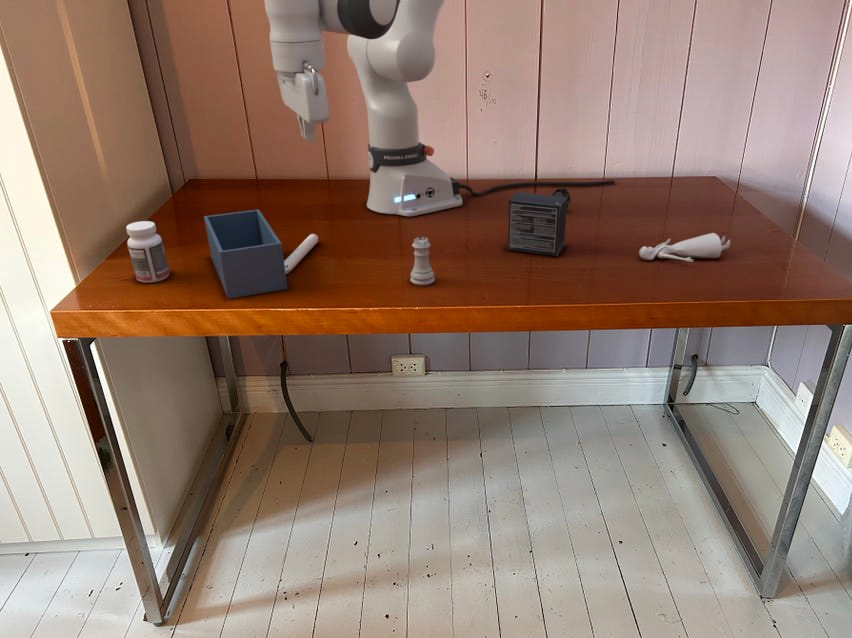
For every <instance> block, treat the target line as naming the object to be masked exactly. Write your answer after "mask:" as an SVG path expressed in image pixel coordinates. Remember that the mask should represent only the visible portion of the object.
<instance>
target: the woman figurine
mask: <svg viewBox="0 0 852 638" xmlns="http://www.w3.org/2000/svg"><path fill="white" fill-rule="evenodd" d="M722 236H723V237H722V238H721V239H720V236H719V235H718V234H717V233H715V232H711V233H707V234H703V235H699V236H696V237H692V238H687V239H684V240H681V241H679V242H676V243H674V244H672V245H669V243H670V242H671V240H672V238H668V239H667V240H666V241H665V242H662V243H659V244H657V245H656V246H655V247H652V246H645V245H644V246H642V247H641V248H640V249H639V251H638V254H639V255H638V256H639V257H640V258H641V259H642V260H644V261H651V260H654V259H655V258H656V257H657V258H660V259H672V260H678V261H684V262H687V263H694V259H715V260H717V259H719V258H720V257H721V254H722V251H724V250H727V249H730V248H731V246H730V245H731V240H730V239H727V242H726V243H725V241H726V236H725V235H722ZM692 258H693V259H692Z"/></svg>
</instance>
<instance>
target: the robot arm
mask: <svg viewBox="0 0 852 638" xmlns="http://www.w3.org/2000/svg"><path fill="white" fill-rule="evenodd" d="M263 2H264V8H265V14H266V16H267V19H268V21H269V28H270V29H269V30H270V32H269V45H270V52H269V53H270V54H269V55H270V60H271V64H272V66H273V70H274V71H275V73H276V77H277V78H276V79H277V82H278V87H279V91H280V92H279V93H280V96H281V99H282V101H283V104H284V105H285V106H286V107H288V108H289V109H290V110H291V111H292V112H294V113H295V114H296V117H297V118H296V119H297V121H298V125H299V128H300V134H301V138H302V139H304V140H305V141H306V142H307V143H309V142H315V141H316V125H319V124H326V123H327V124H328V123H329V120H330V110H329V103H328V102H329V101H328V97H327V90H326V89H327V88H326V85H325V80H324V77H323V76H322V75H321V74H320V71H321V70H324V69H325V68H326V56H325V46H324V37H323V32H329V33H335V34H341V35H348V36H347V40H346V49H347V50H346V51H347V54H348V57H349V59H350V60H351V62H352V63H353V65H354V67H355V69H356V72H357V76H358V79H359V83H360V86H361V91H362V95H363V98H364V102H365V108H366V113H367V115H366V116H367V125H368V140H369V143H368V144H367V161H368V163H367V164H368V167H369V170H370V173H369V174H370V175H369V176H370V178H369V191H368V196H367V201H366V208H368V209H369V210H371V211H373V212H375V213H380V214H386V215H399V216H404V217H415V216H419V215H424V214H430V213H434V212H438V211H442V210H443V211H444V210H447V209H452V208H456V207H460V206H462V205H463V204H464V203H463V202H464V201H463V198H462V196H461V194H460V189H465V190H467V191H468V192H469V194H470V195H471V196H474V197H481V196H484V195H488V194H490V193H492V192H494V191H498V190H501V189H509V188H517V187H530V186H532V187H533V186H537V187H538V186H567V187H568V186H570V187H582V186H585V187H586V186H587V187H588V186H600V185H612V184H613V185H614V184H615V183H616V181H615V179H610V180H609V179H608V180H597V181H576V182H575V181H527V182H515V183H514V182H513V183H507V184H501V185H496V186H492V187H489V188H488V189H486V190H484V191H481V192H475V191H474V190H473V189H472V187H471V186H469V185H467V184H464V183H463V184H462V183H460V182H459V181H458V179H456V178H454V177H450V176H449V175H448V174H447V172H445V170H443V169H442V168H440V167H439V166H437V165H436V164H435V163H434V162H432V161H431V160H429V159H428V157H432V156H433V155H434V154H435V149H434V148H433V147H432V146H430V145H426V144H424V143H422V142H420V139H419V138H420V137H419V112H418V107H417V104H416V101H415V100H414V98H413V96H412V95H411V92H410V89H409V86H408V83H413V82H414V83H415V82H419V81H422V80H424V79H426V78H427V77H428V76H429V75H430V74H431V72H432V71H433V69H434V67H435V63H436V56H437V55H436V54H437V53H436V47H435V45H434V38H435V36H434V35H435V32H436V31H435V30H436V27H437V21H438V19H439V15H440V13H441V10H442V8H443V6H444V3H445V2H446V0H263Z"/></svg>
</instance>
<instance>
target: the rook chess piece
mask: <svg viewBox="0 0 852 638" xmlns="http://www.w3.org/2000/svg"><path fill="white" fill-rule="evenodd" d="M420 238H421V239H420ZM411 246H412V248H413V249H414V252H413V255H414V264H413V267H412V270H411V272H410V278H409V279H410V282H411V283H412V284H413V285H415V286H419V287H424V286H429V285H431V284H433V283H434V282H435V277H434V276H435V272H434V270H433V269H432V266H431V265H430V264H431V263H430V259H429V255H430V251H429V248H430V247H431V243H430V242H429V238H428V237H425V236H424V237H423V236H421V237H416V238H414V239H413V243H412V244H411Z"/></svg>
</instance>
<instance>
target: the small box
mask: <svg viewBox="0 0 852 638" xmlns="http://www.w3.org/2000/svg"><path fill="white" fill-rule="evenodd" d="M567 197H568V196H567ZM567 197H560V196H552V195H551V194H549V195H548V194H540V193H531V192H530V193H529V192H519V191H517V192H516V193H515V194H514V195H512V196H511V198H508V225H507V226H508V227H507V229H508V232H507V249H506V250H507V251H511V252H519V253H528V254H534V255H543V256H549V257H550V256H551V257H558V256H559V255H560V253H561V251H563V249H564V247H565V239H566V238H565V237H566V236H565V235H566V223H567V209H568V207H567Z"/></svg>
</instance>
